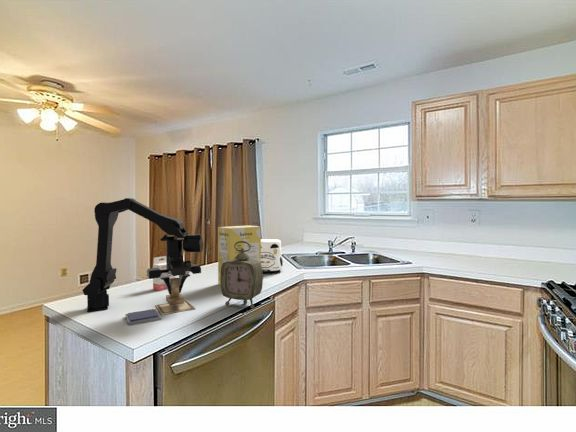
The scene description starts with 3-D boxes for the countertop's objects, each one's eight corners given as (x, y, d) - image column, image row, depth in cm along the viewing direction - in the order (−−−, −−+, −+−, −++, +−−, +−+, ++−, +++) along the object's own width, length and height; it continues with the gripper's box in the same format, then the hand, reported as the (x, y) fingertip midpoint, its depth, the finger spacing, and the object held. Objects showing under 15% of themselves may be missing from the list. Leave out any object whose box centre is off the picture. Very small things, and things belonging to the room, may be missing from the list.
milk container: (260, 275, 174) (260, 243, 173) (248, 270, 189) (248, 239, 188) (288, 272, 182) (288, 241, 182) (274, 267, 198) (274, 238, 197)
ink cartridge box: (159, 291, 143) (158, 258, 142) (152, 289, 146) (152, 257, 145) (175, 287, 150) (175, 256, 149) (169, 285, 153) (168, 255, 152)
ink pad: (128, 325, 103) (127, 321, 102) (125, 316, 110) (125, 312, 110) (160, 319, 108) (160, 315, 108) (156, 311, 115) (156, 308, 115)
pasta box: (248, 278, 168) (248, 225, 167) (260, 281, 161) (260, 226, 160) (218, 284, 156) (217, 227, 155) (230, 288, 148) (230, 228, 147)
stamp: (170, 305, 116) (169, 281, 116) (166, 300, 122) (165, 277, 122) (184, 303, 119) (183, 279, 118) (179, 298, 125) (179, 276, 124)
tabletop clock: (220, 306, 121) (220, 241, 120) (232, 299, 130) (231, 239, 129) (255, 310, 117) (254, 243, 116) (264, 303, 125) (264, 240, 124)
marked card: (161, 315, 112) (161, 313, 112) (155, 305, 122) (155, 304, 122) (195, 309, 119) (195, 308, 119) (187, 300, 129) (187, 299, 129)
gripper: (151, 257, 108) (151, 303, 108) (205, 253, 118) (205, 295, 118) (146, 253, 117) (146, 295, 118) (196, 249, 127) (197, 288, 128)
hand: (174, 293), depth 120 cm, fingers closed on stamp, 3 cm apart
